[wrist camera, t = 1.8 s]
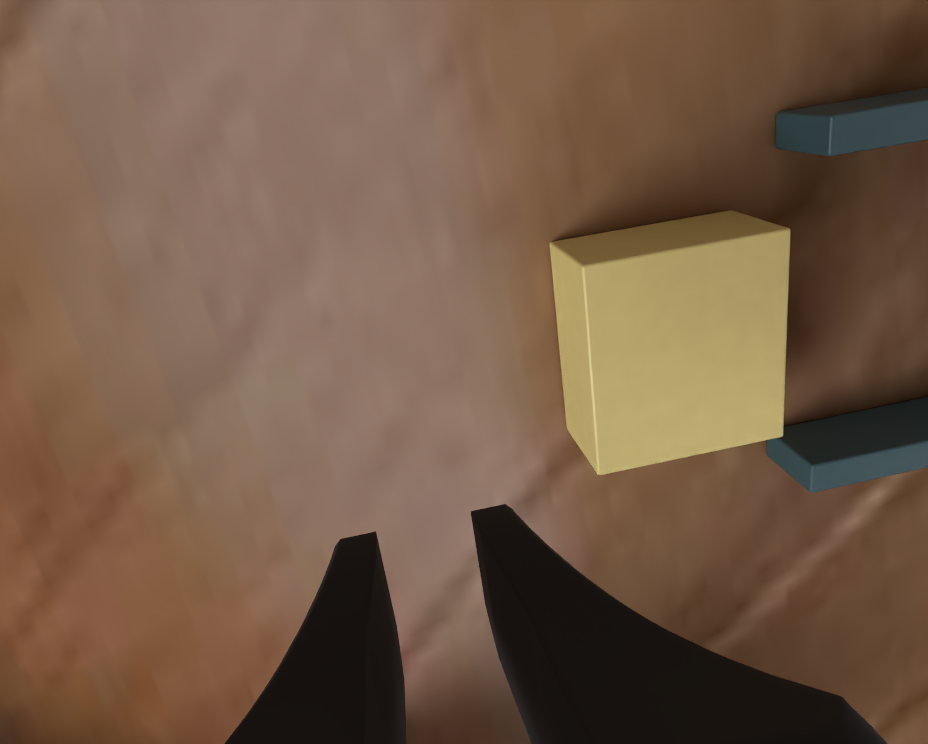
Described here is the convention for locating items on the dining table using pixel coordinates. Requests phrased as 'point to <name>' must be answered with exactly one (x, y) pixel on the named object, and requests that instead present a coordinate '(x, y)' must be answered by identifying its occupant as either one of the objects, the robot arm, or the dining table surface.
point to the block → (672, 337)
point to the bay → (878, 429)
